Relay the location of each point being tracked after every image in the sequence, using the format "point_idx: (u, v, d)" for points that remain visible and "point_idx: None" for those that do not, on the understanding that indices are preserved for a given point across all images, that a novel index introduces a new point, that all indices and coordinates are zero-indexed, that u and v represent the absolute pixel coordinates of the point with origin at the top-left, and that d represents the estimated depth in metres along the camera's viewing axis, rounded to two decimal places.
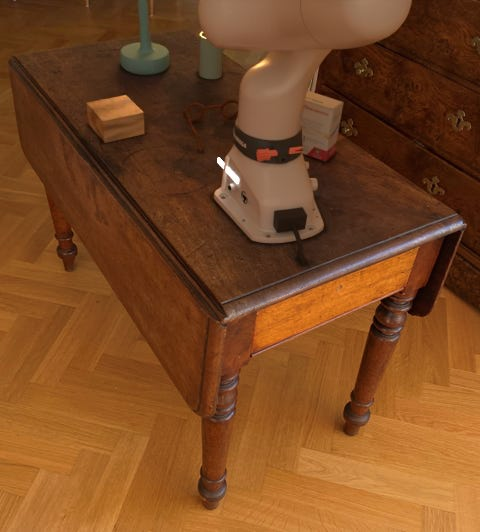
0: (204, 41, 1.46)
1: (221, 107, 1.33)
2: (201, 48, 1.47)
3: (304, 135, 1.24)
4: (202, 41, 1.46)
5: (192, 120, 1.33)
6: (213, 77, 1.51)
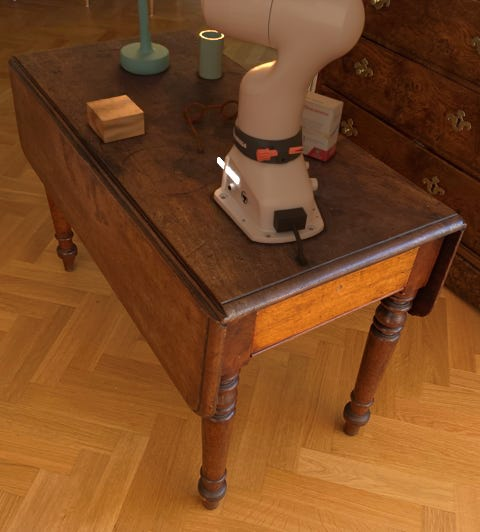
0: (204, 41, 1.46)
1: (221, 107, 1.33)
2: (201, 48, 1.47)
3: (304, 135, 1.24)
4: (202, 41, 1.46)
5: (192, 120, 1.33)
6: (213, 77, 1.51)
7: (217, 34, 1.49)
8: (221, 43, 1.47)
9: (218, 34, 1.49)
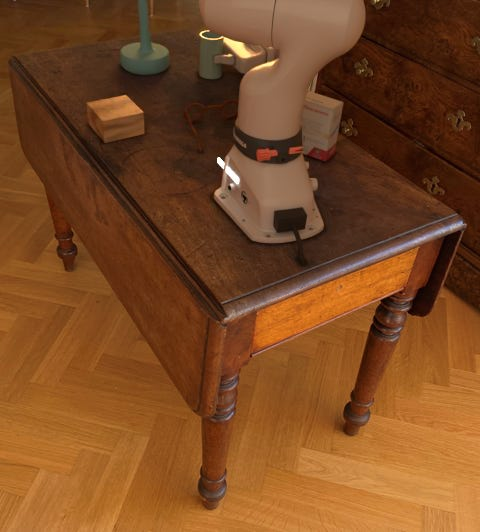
0: (203, 41, 1.46)
1: (221, 107, 1.33)
2: (201, 48, 1.47)
3: (304, 135, 1.24)
4: (202, 41, 1.46)
5: (192, 120, 1.33)
6: (213, 77, 1.51)
7: (217, 34, 1.49)
8: (221, 43, 1.47)
9: None
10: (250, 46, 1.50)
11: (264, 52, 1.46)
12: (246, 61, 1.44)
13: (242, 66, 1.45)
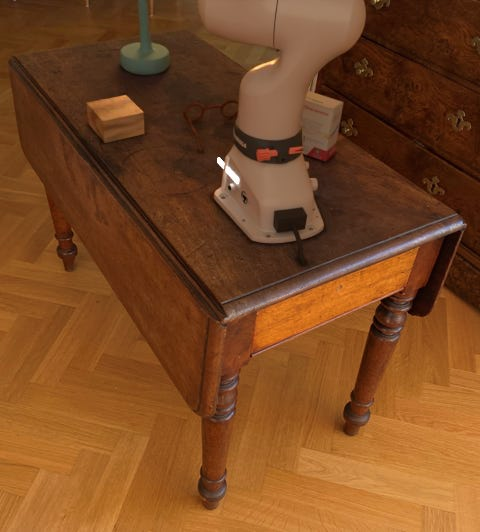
0: None
1: (221, 107, 1.33)
2: None
3: (304, 135, 1.24)
4: None
5: (192, 120, 1.33)
6: None
7: None
8: None
9: None
10: None
11: None
12: None
13: None
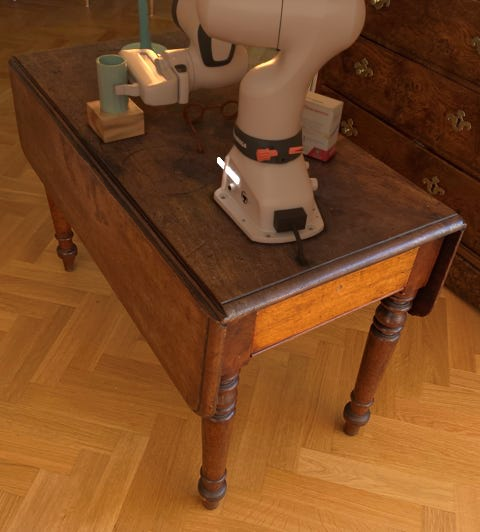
0: (100, 68, 1.19)
1: (221, 107, 1.33)
2: (98, 76, 1.20)
3: (304, 135, 1.24)
4: (98, 68, 1.19)
5: (192, 120, 1.33)
6: (116, 111, 1.24)
7: (119, 59, 1.22)
8: (122, 70, 1.20)
9: (121, 58, 1.22)
10: (161, 71, 1.22)
11: (175, 79, 1.18)
12: (151, 90, 1.16)
13: (147, 97, 1.17)
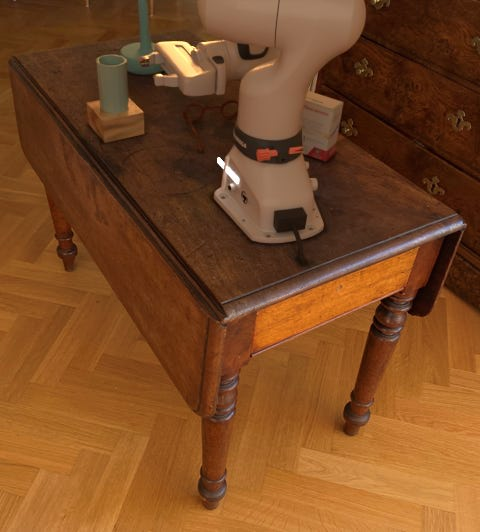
0: (100, 68, 1.19)
1: (221, 107, 1.33)
2: (98, 76, 1.20)
3: (304, 135, 1.24)
4: (98, 68, 1.19)
5: (192, 120, 1.33)
6: (116, 111, 1.24)
7: (119, 59, 1.22)
8: (122, 70, 1.20)
9: (121, 58, 1.22)
10: (198, 62, 1.25)
11: (213, 70, 1.21)
12: (190, 81, 1.18)
13: (186, 88, 1.19)
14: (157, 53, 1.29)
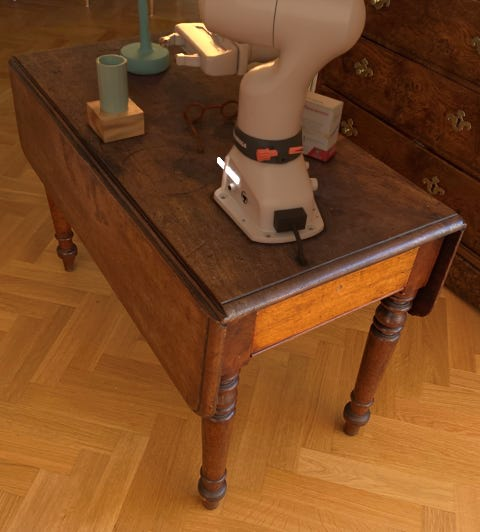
0: (100, 68, 1.19)
1: (221, 107, 1.33)
2: (98, 76, 1.20)
3: (304, 135, 1.24)
4: (98, 68, 1.19)
5: (192, 120, 1.33)
6: (116, 111, 1.24)
7: (119, 59, 1.22)
8: (122, 70, 1.20)
9: (121, 58, 1.22)
10: (219, 42, 1.24)
11: (235, 49, 1.20)
12: (213, 60, 1.17)
13: (208, 67, 1.18)
14: (178, 34, 1.28)
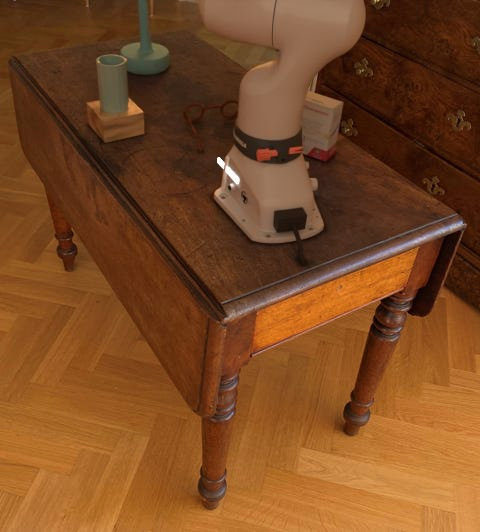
0: (100, 68, 1.19)
1: (221, 107, 1.33)
2: (98, 76, 1.20)
3: (304, 135, 1.24)
4: (98, 68, 1.19)
5: (192, 120, 1.33)
6: (116, 111, 1.24)
7: (119, 59, 1.22)
8: (122, 70, 1.20)
9: (121, 58, 1.22)
10: None
11: None
12: None
13: None
14: None
